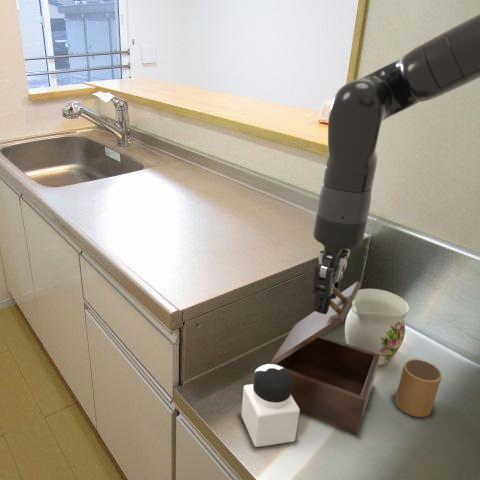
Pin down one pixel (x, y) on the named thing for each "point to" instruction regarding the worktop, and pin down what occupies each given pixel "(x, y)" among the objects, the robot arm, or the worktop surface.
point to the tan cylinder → (418, 387)
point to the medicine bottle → (270, 407)
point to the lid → (317, 323)
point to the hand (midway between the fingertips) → (325, 303)
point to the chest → (332, 381)
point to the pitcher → (376, 322)
